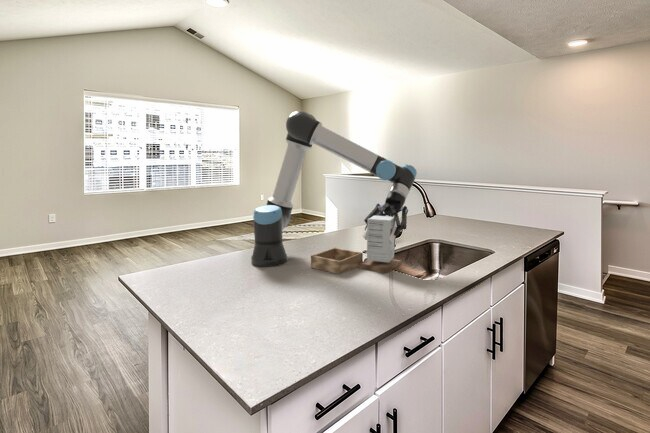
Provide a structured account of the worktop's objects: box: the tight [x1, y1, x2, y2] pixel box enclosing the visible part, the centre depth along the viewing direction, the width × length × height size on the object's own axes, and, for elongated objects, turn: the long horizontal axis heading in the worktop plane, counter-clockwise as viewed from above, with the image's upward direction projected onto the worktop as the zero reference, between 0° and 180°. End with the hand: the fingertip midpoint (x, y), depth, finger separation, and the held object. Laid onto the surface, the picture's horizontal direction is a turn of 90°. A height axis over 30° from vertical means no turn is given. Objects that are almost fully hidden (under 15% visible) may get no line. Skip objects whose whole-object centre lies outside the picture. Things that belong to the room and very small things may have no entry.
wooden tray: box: [310, 247, 364, 275], centre depth 155 cm, size 14×16×5 cm
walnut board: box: [358, 258, 403, 274], centre depth 154 cm, size 12×13×2 cm
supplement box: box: [366, 215, 396, 263], centre depth 152 cm, size 10×9×17 cm
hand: (377, 239), depth 150 cm, fingers closed on supplement box, 11 cm apart
